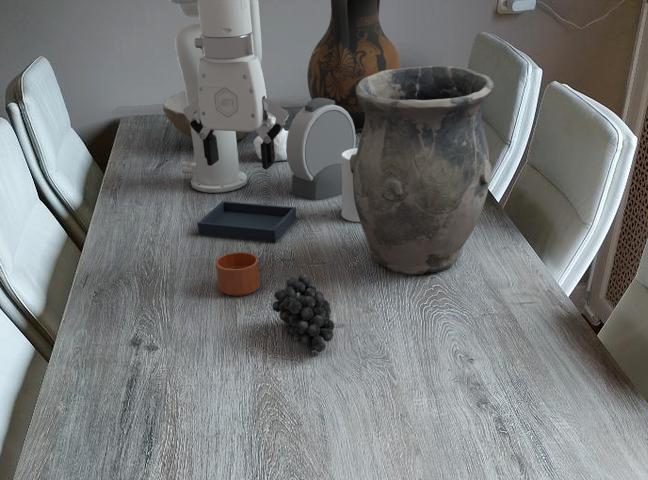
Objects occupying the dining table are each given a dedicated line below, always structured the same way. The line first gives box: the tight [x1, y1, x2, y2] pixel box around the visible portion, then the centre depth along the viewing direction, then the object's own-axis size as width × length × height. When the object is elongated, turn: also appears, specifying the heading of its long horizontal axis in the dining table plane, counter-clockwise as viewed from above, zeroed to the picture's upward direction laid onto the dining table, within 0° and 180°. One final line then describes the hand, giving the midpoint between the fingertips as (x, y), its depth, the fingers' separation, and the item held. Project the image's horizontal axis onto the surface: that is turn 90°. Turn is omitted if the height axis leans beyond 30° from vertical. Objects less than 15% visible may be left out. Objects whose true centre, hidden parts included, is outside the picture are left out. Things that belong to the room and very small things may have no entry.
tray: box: [197, 200, 297, 243], centre depth 159 cm, size 16×12×2 cm
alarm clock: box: [286, 98, 357, 201], centre depth 169 cm, size 16×10×18 cm, turn 134°
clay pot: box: [350, 65, 495, 276], centre depth 136 cm, size 22×23×30 cm
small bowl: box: [214, 251, 262, 297], centre depth 137 cm, size 7×7×5 cm
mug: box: [340, 147, 361, 223], centre depth 159 cm, size 12×8×12 cm
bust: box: [252, 113, 289, 163], centre depth 190 cm, size 12×8×11 cm
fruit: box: [271, 274, 335, 353], centre depth 121 cm, size 9×8×15 cm
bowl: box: [162, 90, 269, 142], centre depth 201 cm, size 26×26×10 cm
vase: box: [306, 0, 402, 133], centre depth 201 cm, size 24×24×35 cm
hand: (240, 164), depth 130 cm, fingers open, 9 cm apart
